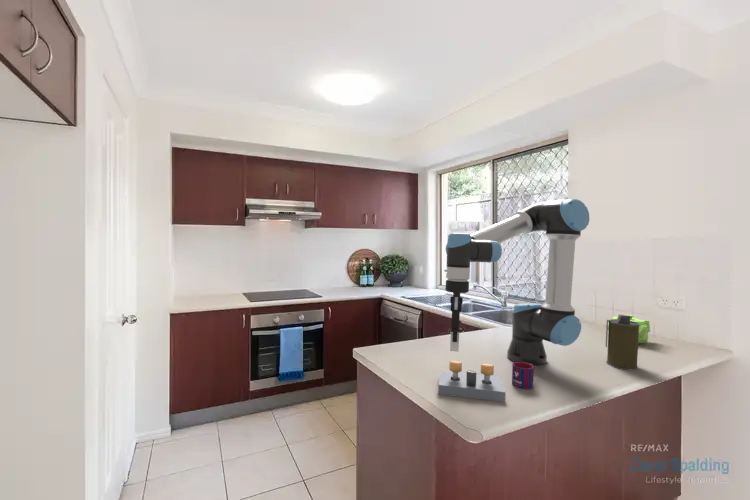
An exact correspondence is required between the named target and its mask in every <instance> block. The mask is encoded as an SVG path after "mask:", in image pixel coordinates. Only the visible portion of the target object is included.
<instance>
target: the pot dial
mask: <svg viewBox="0 0 750 500" xmlns="http://www.w3.org/2000/svg"><path fill="white" fill-rule="evenodd" d="M466 373H467V379H466V385H468V386H471V387H474V386H476V374H477V372H476V371H474V370H466Z"/></svg>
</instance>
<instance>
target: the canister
mask: <svg viewBox="0 0 750 500" xmlns="http://www.w3.org/2000/svg"><path fill="white" fill-rule="evenodd" d="M629 315H630V314H618V316H617V317H618V318H617V319H613V318H612V319H611V318H610V320H609V319H606V331H605V347H606V348H607V355H606V356H607V358H606V362H605V363H606V364H607V365H608V366H610V365H611V367H613V366H614V367H613V368H616V367H617V369H620V368H622V370H627V369H635V370H637V369H638V368H639V367H638V352H639V343H638V336H639V326H640V324H639V323H637V322H633V321H630V318H632V317H631V316H629ZM608 322H609V331H608Z"/></svg>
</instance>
